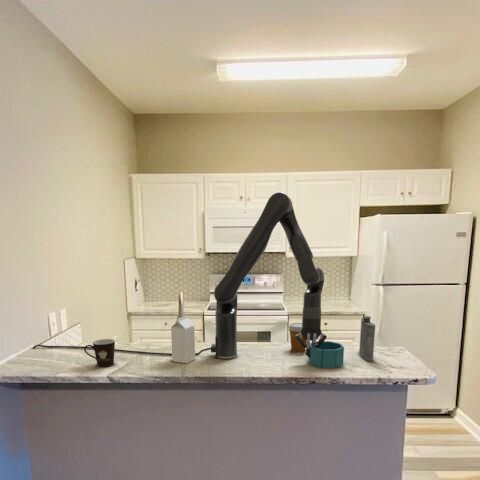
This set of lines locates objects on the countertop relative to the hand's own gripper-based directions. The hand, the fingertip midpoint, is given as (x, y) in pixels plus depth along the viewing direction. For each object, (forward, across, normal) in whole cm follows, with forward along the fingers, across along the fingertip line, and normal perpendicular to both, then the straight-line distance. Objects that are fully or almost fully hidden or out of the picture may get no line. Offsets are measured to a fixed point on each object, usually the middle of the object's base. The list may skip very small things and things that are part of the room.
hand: (310, 356), depth 169 cm
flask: (+3, -25, -9) cm, 27 cm away
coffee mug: (+3, +87, +3) cm, 87 cm away
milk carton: (+3, +54, -3) cm, 54 cm away
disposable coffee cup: (+3, +3, -19) cm, 19 cm away
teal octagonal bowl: (+3, -6, 0) cm, 7 cm away
